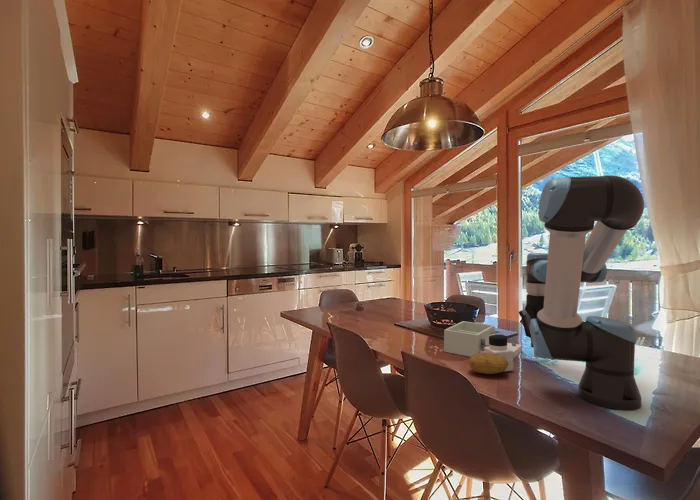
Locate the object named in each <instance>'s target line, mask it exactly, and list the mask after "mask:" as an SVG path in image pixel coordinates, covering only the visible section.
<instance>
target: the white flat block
mask: <svg viewBox="0 0 700 500" xmlns="http://www.w3.org/2000/svg"><path fill="white" fill-rule="evenodd" d="M522 345H523V344H517V343H516V342H507V348H508V349H510V350H512V351H513V360H514V359H515V358H516V357H517V356H518V355H519V354H520V353H521V352H522V351H523V346H522ZM480 353H484V348H483V349H482V350H480Z"/></svg>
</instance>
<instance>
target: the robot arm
mask: <svg viewBox="0 0 700 500" xmlns="http://www.w3.org/2000/svg"><path fill="white" fill-rule="evenodd" d="M539 197H540V198H539V203H538V220H539V221H540V222H542V223H543V224H544V225H543V226H544V228H545V230H546V231H547V232H548V233H549V236H548V238H549V239H548V240H549V241H548V249H547V250H548V252H547V253H545V252H543V253H541V252H531V253H527V255H526V290H525V291H526V293H527V294H526V297H525V298H526V299H525V300H526V301H525V302H526V303H525V304H526V305H525V307H524V309H522V310H520V311H518V315H519V316H520V318H521V321H522V326H523V328H524V329H523V330H524V333H525V337H526V338H529V339H530V347H531V348H533V358H539V359H545V360H551V361H554V360H555V361H569V362H582V363H583V362H584V363H585V369H584V372H583V373H582V376H581V379H580V381H579V383H578V387H577V390H578V391H577V393H578V395H579V397H580V398H581V399H583V400H585V401H587V402H589V403H591V404H594V405H597V406H600V407H604V408H606V409H607V408H608V409H613V410H619V411H620V410H623V411H631V410H636V409H637V410H638V409H640V408H641V407H642V396H641V393H640V390H639V387H638V384H637V382H636V379H635V378H636V377H635V353H636V351H635V350H636V342H637V341H636V339H635V338H636V336H635V329H634V327H633V326H632V325H631V324H630V323H627V322H624V321H620V320H618V319H613V318H609V317H603V316H598V315H597V316H596V315H587V316H586V318H585V321H583V318H582V317H581V316H580V315H579V314H578V306H579V297H580V290H581V289H580V288H581V283H590V284H592V283H593V284H594V283H603V282H604V281H605V280H606V278H607V273H608V267H607V265H606V263H607V261H608V260H609V258H610V256H611V255H612V254H613V253H614V251H615V249H616V247H617V246H618V245H619V244H620V242H621V240H622V239H623V237H624V236H625V234H626V233H627V231H628V230H631V229H633V228H634V227H635V226H636V225H637V224H638V223H639V221H640V220H641V218H642V216H643V214H644V209H645V201H644V196H643V194H642V192H641V191H640V189H639V188H638V186H637V185H635V184H634V183H633V182H632V181H631V180H629V179H628V178H625V177H622V176H619V175H612V174H609V175H595V176H592V175H590V176H588V175H587V176H565V177H564V176H563V177H557V178H551V179H550V180H548V181H547V182H546V183H545V184H544V186H543V188H542V191H541V193H540V196H539ZM589 233H590V234H589ZM588 234H589V236H588V238H587V239H586V237H587V235H588ZM527 315H528V316H529V317H530V322H529V321H528V318H527Z"/></svg>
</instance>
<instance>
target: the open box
mask: <svg viewBox="0 0 700 500" xmlns="http://www.w3.org/2000/svg"><path fill="white" fill-rule="evenodd" d="M443 331H444V332H443V333H444V334H443V352H445V353H451V354H455V355H460V356H466V357H469V358H470V357H471V356H473V355H474V354H478V353H480V350H482V349H483V348H485V347H490V346H489V336H490V335H492V334H496V333H495V325H492V324H488V323H487V324H486V323H479V322H471V321H465V320H463V321H460V322H458V323H456V324H454V325H452V326H450V327H447V328H445V329H444V330H443Z"/></svg>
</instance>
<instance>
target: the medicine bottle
mask: <svg viewBox="0 0 700 500" xmlns="http://www.w3.org/2000/svg"><path fill="white" fill-rule="evenodd" d="M507 343H508V337H507V336H506V335H504V334H501V333H495V334H492V335H490V336H489V346H490V347H485V348H484V353H492V354H496V355H500V356H502V357H504V358H505V359H506V360H507V362H508V367H507V368H506V370H504V371H503V372H513V371H514V369H515V368H514V367H515V366H514V359H513V351H512V350H510V349H508V348H507Z"/></svg>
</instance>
